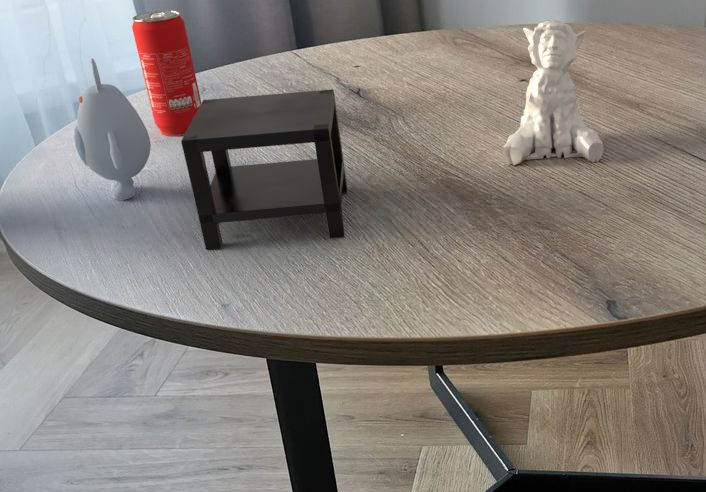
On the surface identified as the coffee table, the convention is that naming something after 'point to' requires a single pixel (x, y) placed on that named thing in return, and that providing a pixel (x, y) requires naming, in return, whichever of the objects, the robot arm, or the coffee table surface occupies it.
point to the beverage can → (167, 70)
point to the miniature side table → (270, 178)
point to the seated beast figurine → (552, 101)
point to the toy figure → (111, 136)
